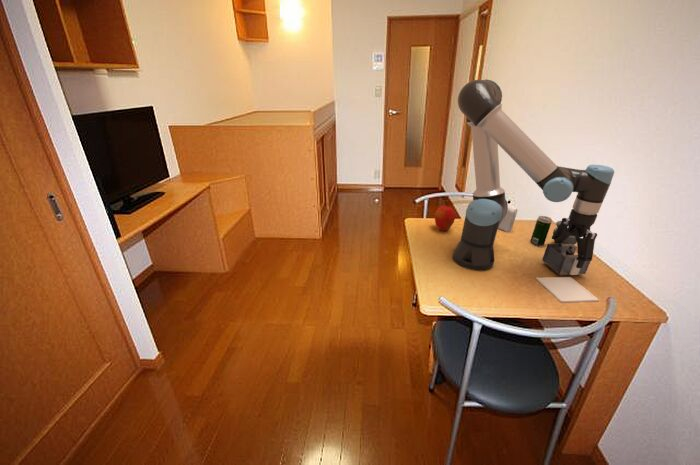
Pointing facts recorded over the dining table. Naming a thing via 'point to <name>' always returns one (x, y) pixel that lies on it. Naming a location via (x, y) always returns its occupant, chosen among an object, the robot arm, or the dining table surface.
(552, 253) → the c link
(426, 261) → the dining table surface
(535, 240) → the beer can
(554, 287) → the mat
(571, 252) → the stand
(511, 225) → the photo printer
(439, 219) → the apple
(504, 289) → the dining table surface
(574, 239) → the mortar and pestle
